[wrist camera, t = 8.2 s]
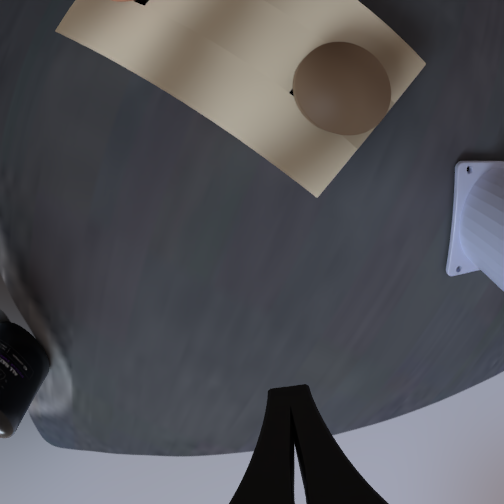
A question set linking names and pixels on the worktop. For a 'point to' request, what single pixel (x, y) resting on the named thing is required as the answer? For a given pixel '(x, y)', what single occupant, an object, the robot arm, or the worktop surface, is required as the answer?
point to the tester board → (245, 65)
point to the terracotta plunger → (129, 0)
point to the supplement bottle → (18, 374)
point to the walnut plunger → (342, 88)
